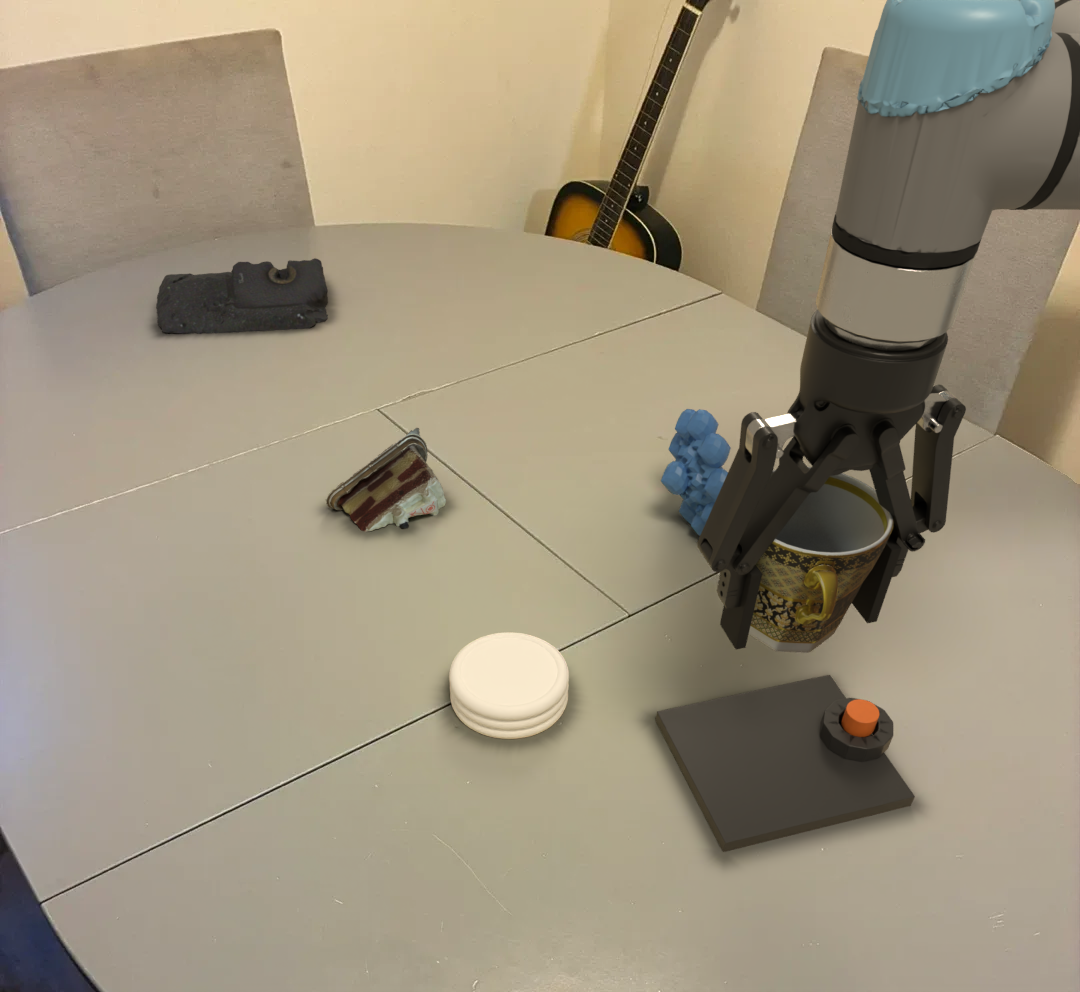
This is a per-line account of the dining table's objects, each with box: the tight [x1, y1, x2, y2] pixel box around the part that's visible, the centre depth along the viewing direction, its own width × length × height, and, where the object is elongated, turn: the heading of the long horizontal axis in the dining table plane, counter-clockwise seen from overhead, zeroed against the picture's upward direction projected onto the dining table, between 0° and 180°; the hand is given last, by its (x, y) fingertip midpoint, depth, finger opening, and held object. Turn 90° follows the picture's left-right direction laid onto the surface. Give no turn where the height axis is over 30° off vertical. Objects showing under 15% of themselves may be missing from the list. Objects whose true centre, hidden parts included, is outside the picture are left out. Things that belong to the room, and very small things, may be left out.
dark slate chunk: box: [155, 257, 329, 335], centre depth 134 cm, size 15×22×5 cm
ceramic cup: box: [748, 466, 894, 654], centre depth 70 cm, size 13×10×10 cm
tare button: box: [841, 698, 879, 737], centre depth 82 cm, size 3×3×2 cm
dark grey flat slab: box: [655, 674, 916, 853], centre depth 83 cm, size 17×14×3 cm
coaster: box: [448, 631, 570, 740], centre depth 87 cm, size 10×10×4 cm
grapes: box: [660, 408, 732, 537], centre depth 101 cm, size 12×7×12 cm, turn 18°
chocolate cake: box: [324, 427, 447, 532], centre depth 105 cm, size 10×7×12 cm
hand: (798, 622), depth 73 cm, fingers closed on ceramic cup, 9 cm apart
